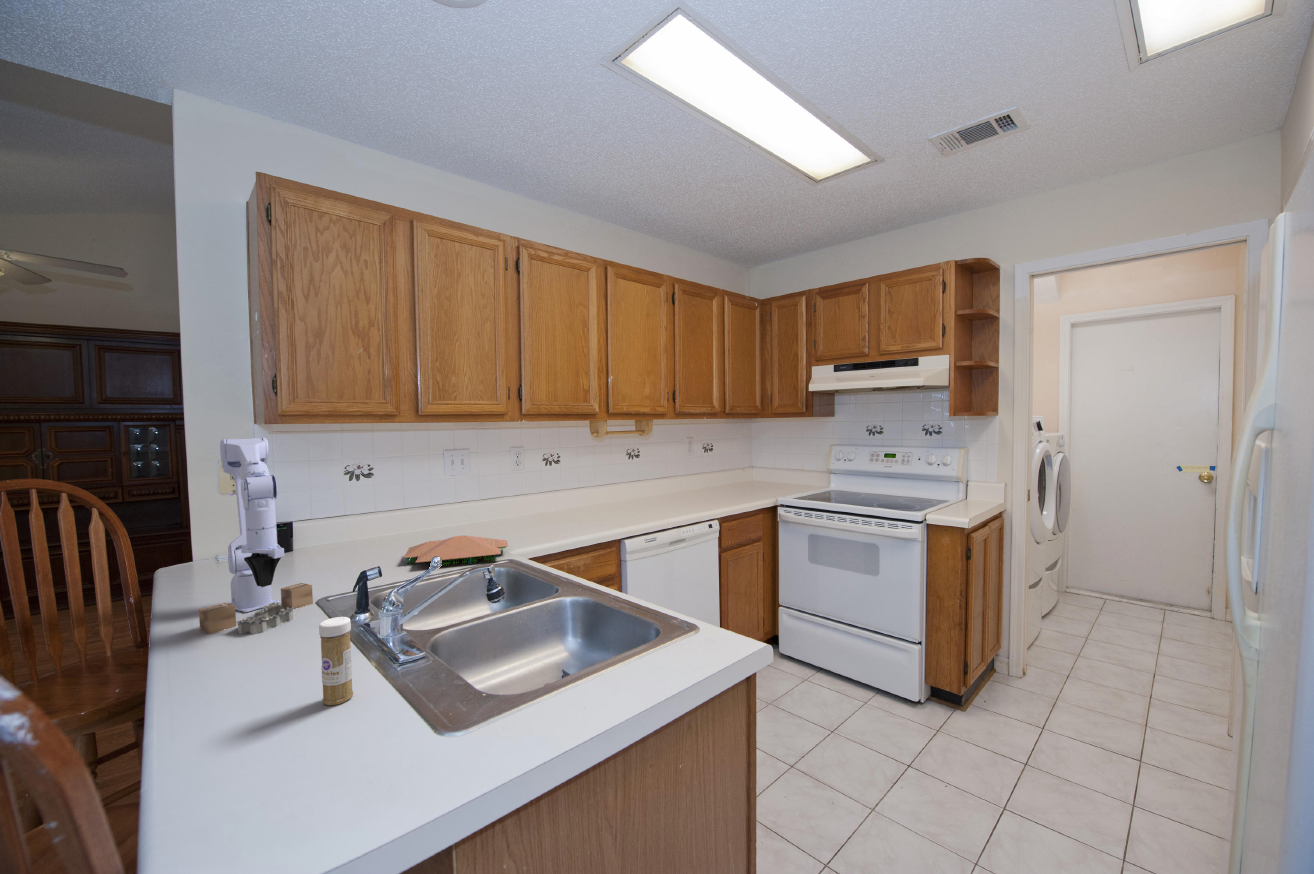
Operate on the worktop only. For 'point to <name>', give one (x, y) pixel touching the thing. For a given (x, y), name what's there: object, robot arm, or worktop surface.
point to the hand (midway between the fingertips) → (264, 585)
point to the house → (456, 548)
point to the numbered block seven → (217, 618)
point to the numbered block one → (296, 595)
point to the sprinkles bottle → (336, 660)
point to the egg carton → (265, 619)
